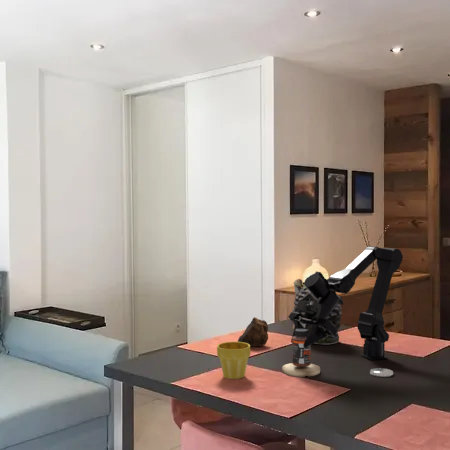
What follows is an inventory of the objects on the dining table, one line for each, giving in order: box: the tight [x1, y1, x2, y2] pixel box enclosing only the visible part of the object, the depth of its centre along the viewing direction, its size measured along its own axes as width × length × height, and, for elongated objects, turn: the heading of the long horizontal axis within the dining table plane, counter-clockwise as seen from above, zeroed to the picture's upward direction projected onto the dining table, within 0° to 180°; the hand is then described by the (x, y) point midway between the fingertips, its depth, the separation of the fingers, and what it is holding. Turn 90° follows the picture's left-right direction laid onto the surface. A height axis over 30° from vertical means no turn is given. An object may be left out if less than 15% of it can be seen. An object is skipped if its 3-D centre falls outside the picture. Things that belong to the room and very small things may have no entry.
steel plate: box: [369, 367, 394, 378], centre depth 182 cm, size 7×7×1 cm
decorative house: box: [291, 278, 343, 345], centre depth 228 cm, size 21×15×25 cm
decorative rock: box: [237, 317, 269, 348], centre depth 220 cm, size 12×6×11 cm, turn 103°
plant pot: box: [216, 341, 251, 380], centre depth 180 cm, size 10×10×10 cm
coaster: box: [281, 363, 321, 378], centre depth 185 cm, size 12×12×1 cm
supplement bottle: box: [291, 329, 312, 367], centre depth 185 cm, size 6×6×11 cm
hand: (298, 344), depth 184 cm, fingers closed on supplement bottle, 6 cm apart
